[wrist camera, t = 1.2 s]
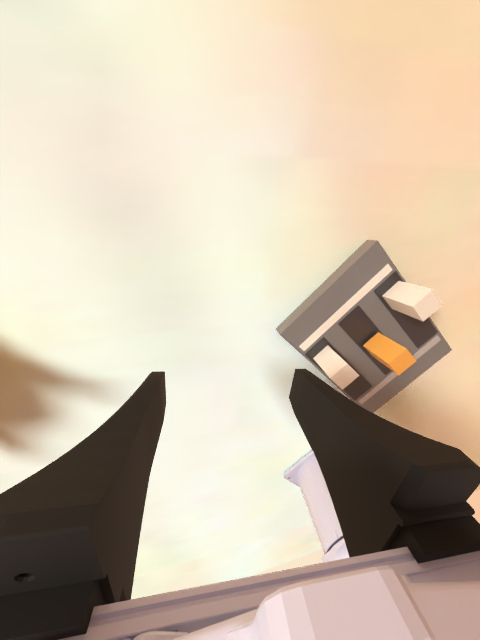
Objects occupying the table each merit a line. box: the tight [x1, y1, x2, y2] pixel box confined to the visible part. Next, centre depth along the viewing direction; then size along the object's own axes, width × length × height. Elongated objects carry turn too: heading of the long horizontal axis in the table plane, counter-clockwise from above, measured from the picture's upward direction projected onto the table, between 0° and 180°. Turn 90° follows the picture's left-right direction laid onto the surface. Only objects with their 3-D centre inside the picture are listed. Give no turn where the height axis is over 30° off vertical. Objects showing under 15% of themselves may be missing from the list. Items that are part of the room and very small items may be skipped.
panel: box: [276, 240, 452, 413], centre depth 23 cm, size 17×12×5 cm
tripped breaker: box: [363, 332, 416, 375], centre depth 22 cm, size 2×2×4 cm
